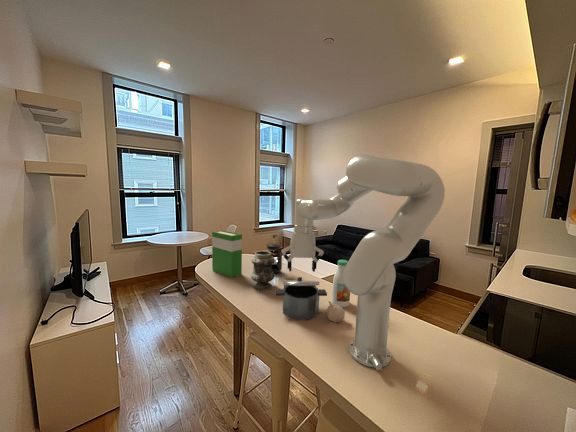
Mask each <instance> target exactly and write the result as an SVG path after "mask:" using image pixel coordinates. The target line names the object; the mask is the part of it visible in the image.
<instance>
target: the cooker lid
mask: <svg viewBox="0 0 576 432" xmlns="http://www.w3.org/2000/svg"><path fill="white" fill-rule="evenodd" d="M296 279H297V280H296ZM296 279H294V280H289V279H288V280H284V281H283V280H282V285H283V286H284V285H292V286H320V281H318V280H317V281H316V280H308V279H307V280H305V279H304V280H303V277H302V276H297V278H296Z"/></svg>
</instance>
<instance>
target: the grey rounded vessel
mask: <svg viewBox="0 0 576 432" xmlns="http://www.w3.org/2000/svg"><path fill="white" fill-rule="evenodd" d="M269 251H270V250H269ZM269 251H268V250H259V251H258V250H257V251H255V253H254V255H253V256H252V257H251V263H252V264H253V269H252V272H251V274H250V278H251V280H252V281H254V283H253V285H252V287H253V289H254V290H257V291H267V290H270V289H272V287H273V285H272V283H271V282H272V281H273V280H274V278H275V275H274V273H273V272H272V264H273V263H274V260H275V257H274V258H273V257H272V255H273V254H272V253H271V252H269Z"/></svg>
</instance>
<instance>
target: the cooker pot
mask: <svg viewBox="0 0 576 432" xmlns="http://www.w3.org/2000/svg"><path fill="white" fill-rule="evenodd" d="M275 296H277V297H282V313H283V314H284V315H285V316H286V317H287V318H289V319H292V320H295V321H309V320H312V319H315V318H316V317H317V315H319V308H320V297H327V296H328V292H327V290H326V289H325V288H323V289H321V288H320V289H319V288H318V287H317V285H315V286H292V285H284V284H283V288H282V289H278V288H276V289H275Z"/></svg>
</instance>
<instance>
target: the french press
mask: <svg viewBox="0 0 576 432" xmlns="http://www.w3.org/2000/svg"><path fill="white" fill-rule="evenodd" d="M270 236H271V237H272V238H273V239H276V237H278V234H270ZM281 247H282V244H281V243H276V242H271V243H267V244H266V249H267V250H269V252H271V255H272V257H273V258H274V263H273V264H272V272H273V273H274V276H276V275H280V274H281V272H282V265H283V263H282V262H283V259H282V258H283V254H282V252H281V251H279V250H281ZM275 258H276V259H275Z"/></svg>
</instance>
